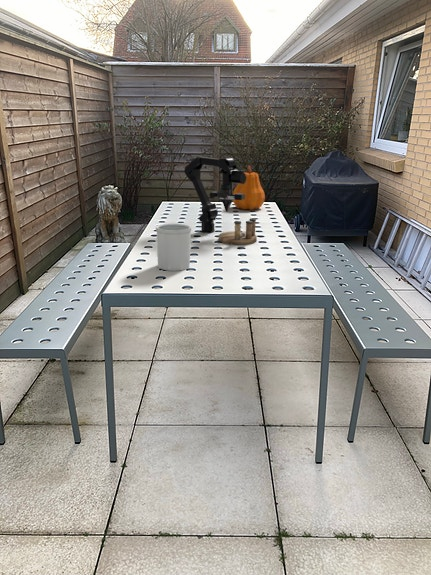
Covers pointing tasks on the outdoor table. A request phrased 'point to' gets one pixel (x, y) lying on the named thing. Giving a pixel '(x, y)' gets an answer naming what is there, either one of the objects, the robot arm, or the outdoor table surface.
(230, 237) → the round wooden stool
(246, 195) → the decorative pumpkin
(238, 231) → the hinged leg
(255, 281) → the outdoor table surface
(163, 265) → the utensil holder
